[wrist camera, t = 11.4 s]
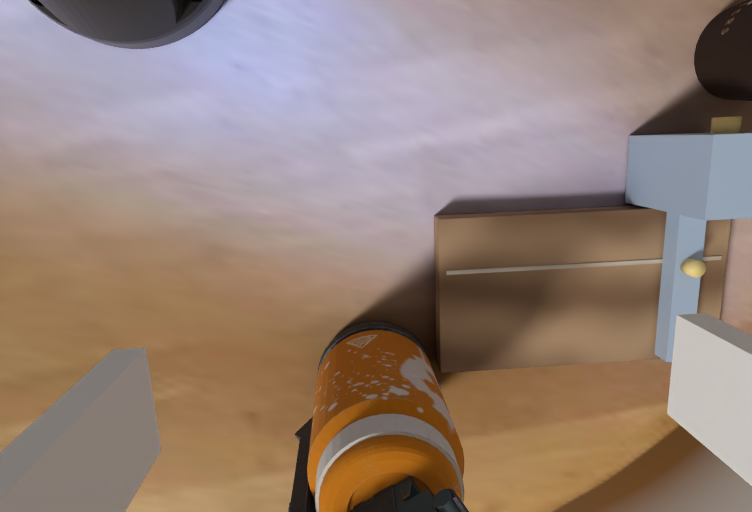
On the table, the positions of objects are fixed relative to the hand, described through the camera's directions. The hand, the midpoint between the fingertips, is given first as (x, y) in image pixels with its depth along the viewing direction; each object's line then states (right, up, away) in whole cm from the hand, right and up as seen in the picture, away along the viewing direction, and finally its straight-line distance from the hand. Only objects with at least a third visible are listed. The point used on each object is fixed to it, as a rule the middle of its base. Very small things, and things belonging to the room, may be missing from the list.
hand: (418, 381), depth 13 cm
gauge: (+21, +5, +28) cm, 35 cm away
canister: (-2, -7, +29) cm, 30 cm away
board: (+15, +1, +28) cm, 32 cm away
